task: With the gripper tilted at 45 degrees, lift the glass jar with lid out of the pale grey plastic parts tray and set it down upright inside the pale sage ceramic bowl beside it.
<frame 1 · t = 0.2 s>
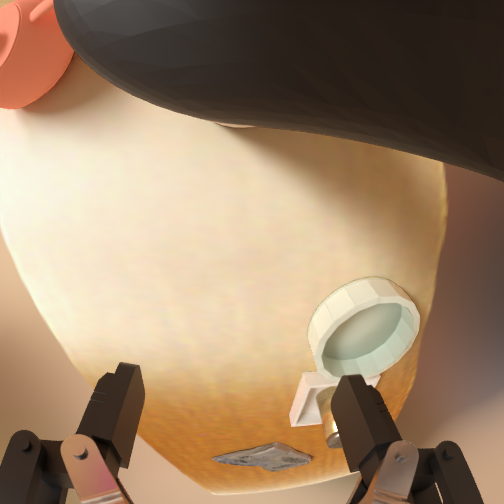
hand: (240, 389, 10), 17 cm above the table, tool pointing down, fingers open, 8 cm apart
fossil rock: (265, 456, 49), on the table
parts tray: (330, 392, 38), on the table
bowl: (358, 323, 32), on the table
teapot: (34, 57, 16), on the table
glass jar with lid: (331, 394, 37), resting on parts tray
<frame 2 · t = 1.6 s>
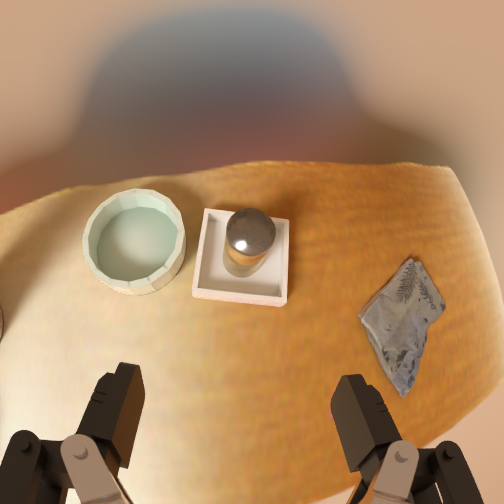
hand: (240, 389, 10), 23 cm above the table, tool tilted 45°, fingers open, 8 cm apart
fossil rock: (405, 323, 38), on the table
parts tray: (241, 260, 37), on the table
bowl: (137, 247, 35), on the table
glass jar with lid: (241, 259, 36), resting on parts tray
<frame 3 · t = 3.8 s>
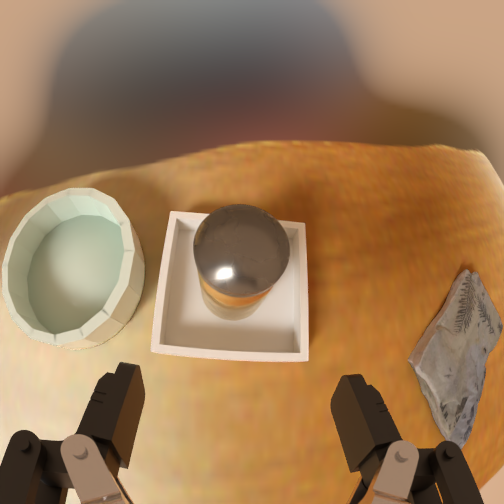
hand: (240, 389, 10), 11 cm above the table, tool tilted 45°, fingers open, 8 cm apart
fossil rock: (461, 358, 23), on the table
parts tray: (232, 291, 23), on the table
bowl: (78, 275, 22), on the table
glass jar with lid: (232, 289, 22), resting on parts tray
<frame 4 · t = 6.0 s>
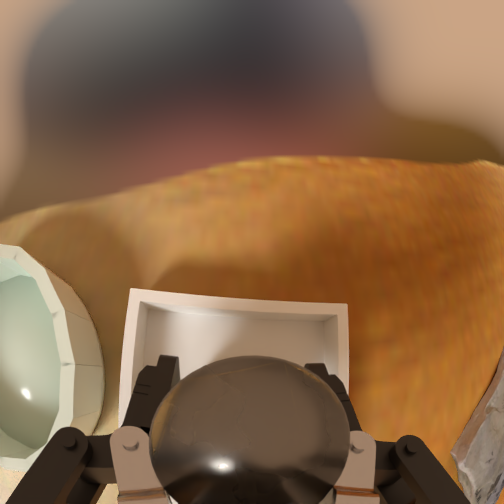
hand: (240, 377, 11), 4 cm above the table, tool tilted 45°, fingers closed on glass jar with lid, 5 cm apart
fossil rock: (501, 428, 14), on the table
parts tray: (233, 405, 14), on the table
bowl: (22, 362, 12), on the table
glass jar with lid: (233, 406, 13), resting on parts tray, touching gripper
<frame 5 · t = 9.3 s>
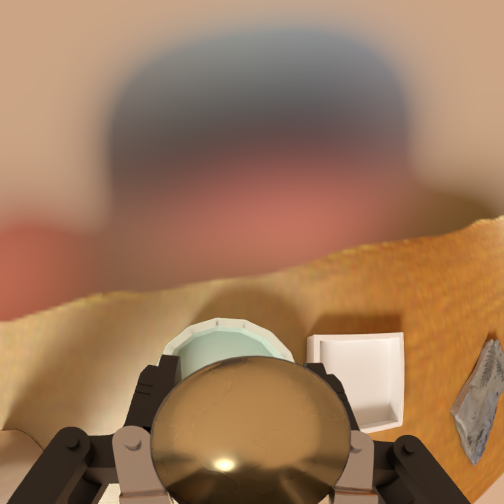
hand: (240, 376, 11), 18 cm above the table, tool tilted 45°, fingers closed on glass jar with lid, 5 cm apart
fossil rock: (481, 401, 28), on the table
parts tray: (352, 384, 27), on the table
bowl: (225, 386, 26), on the table
glass jar with lid: (234, 406, 13), point 14 cm above the table, touching gripper
when the fingers open (6 cm above the table, at t = 12.3 s): glass jar with lid drops 2 cm, resting on bowl.
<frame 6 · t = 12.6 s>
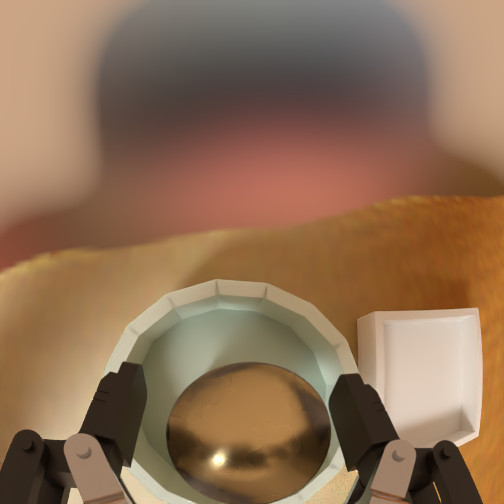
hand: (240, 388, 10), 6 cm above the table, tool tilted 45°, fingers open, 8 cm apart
parts tray: (418, 387, 17), on the table
bowl: (231, 401, 15), on the table
glass jar with lid: (233, 405, 15), point 1 cm above the table, touching bowl
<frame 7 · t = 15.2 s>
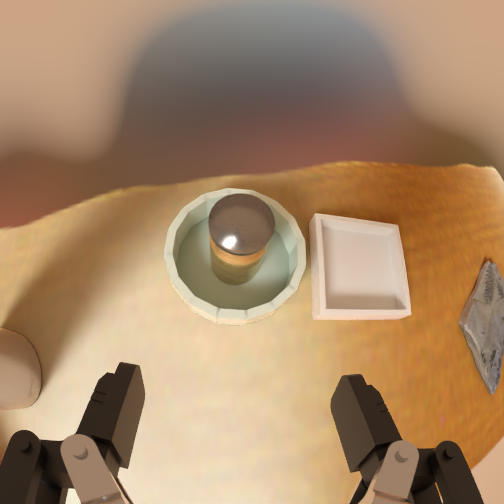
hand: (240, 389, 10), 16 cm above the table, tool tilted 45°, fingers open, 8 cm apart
fossil rock: (488, 324, 31), on the table
parts tray: (356, 272, 31), on the table
bowl: (233, 262, 30), on the table
glass jar with lid: (234, 261, 29), point 1 cm above the table, touching bowl
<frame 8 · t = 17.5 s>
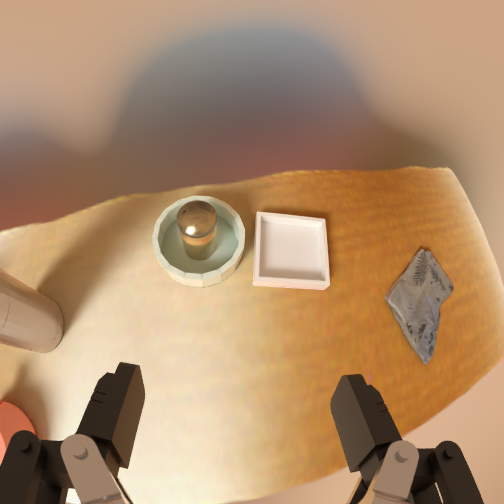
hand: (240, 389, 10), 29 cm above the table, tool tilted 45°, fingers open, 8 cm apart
fossil rock: (421, 303, 45), on the table
parts tray: (289, 253, 44), on the table
bowl: (199, 246, 43), on the table
teapot: (19, 438, 25), on the table
glass jar with lid: (199, 245, 42), point 1 cm above the table, touching bowl
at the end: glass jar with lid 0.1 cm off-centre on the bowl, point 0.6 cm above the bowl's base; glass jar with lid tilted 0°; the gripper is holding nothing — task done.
